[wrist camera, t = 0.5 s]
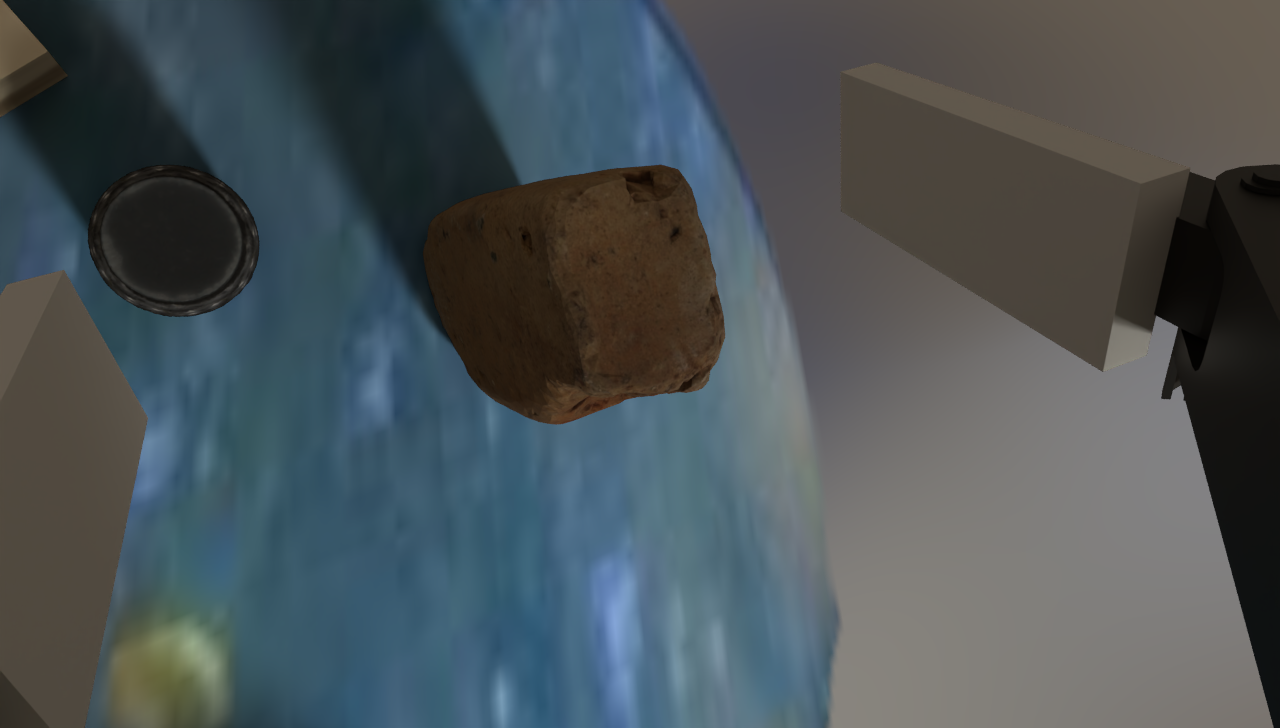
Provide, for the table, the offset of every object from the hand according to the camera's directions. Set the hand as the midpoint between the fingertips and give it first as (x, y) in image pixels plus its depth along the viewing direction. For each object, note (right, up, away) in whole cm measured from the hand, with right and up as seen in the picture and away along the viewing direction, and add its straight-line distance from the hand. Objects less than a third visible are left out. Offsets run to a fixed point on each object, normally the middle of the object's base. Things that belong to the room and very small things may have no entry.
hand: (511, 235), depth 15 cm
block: (-6, +2, +34) cm, 35 cm away
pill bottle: (-20, +4, +27) cm, 34 cm away
